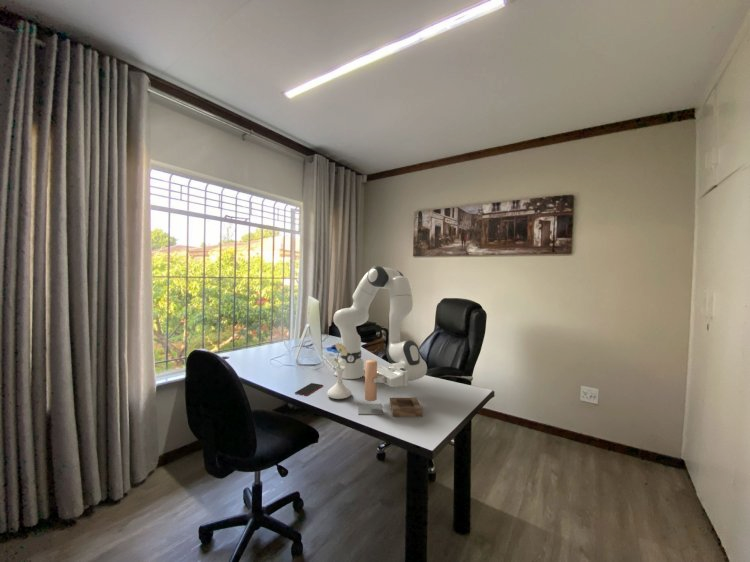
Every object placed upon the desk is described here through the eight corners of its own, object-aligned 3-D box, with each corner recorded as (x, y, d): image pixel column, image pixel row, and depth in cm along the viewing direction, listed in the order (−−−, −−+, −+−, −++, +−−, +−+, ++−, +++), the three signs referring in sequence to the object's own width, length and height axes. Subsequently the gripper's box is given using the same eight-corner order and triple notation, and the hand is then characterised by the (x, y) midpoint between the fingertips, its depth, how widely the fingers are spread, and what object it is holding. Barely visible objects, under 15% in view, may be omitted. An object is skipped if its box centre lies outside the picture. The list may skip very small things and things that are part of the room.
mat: (358, 404, 133) (358, 403, 133) (380, 404, 134) (380, 403, 134) (358, 414, 123) (358, 413, 123) (382, 414, 124) (382, 413, 124)
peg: (364, 396, 130) (365, 359, 130) (376, 396, 131) (376, 359, 131) (365, 401, 125) (365, 363, 125) (377, 401, 126) (377, 362, 126)
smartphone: (293, 392, 144) (311, 382, 158) (293, 394, 144) (311, 384, 158) (307, 395, 141) (323, 384, 155) (307, 397, 141) (323, 386, 155)
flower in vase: (354, 399, 138) (355, 345, 138) (330, 402, 134) (331, 346, 134) (346, 389, 151) (347, 339, 150) (323, 392, 146) (325, 341, 146)
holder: (389, 404, 134) (389, 397, 134) (416, 404, 135) (416, 397, 135) (393, 416, 122) (393, 409, 122) (422, 416, 123) (422, 409, 123)
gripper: (383, 360, 144) (357, 364, 137) (409, 372, 126) (382, 377, 119) (383, 373, 144) (357, 378, 137) (409, 387, 126) (382, 393, 119)
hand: (369, 378), depth 128 cm, fingers closed on peg, 5 cm apart
